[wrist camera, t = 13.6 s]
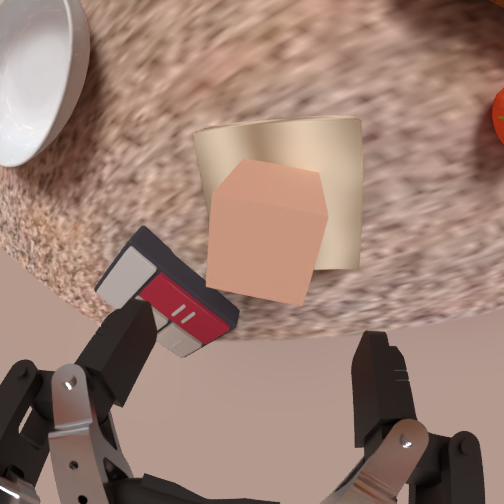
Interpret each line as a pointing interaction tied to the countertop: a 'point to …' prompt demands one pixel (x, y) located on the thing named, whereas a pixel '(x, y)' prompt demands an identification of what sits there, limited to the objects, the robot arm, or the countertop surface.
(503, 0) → the clay tablet
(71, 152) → the countertop surface
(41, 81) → the serving bowl
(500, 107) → the clementine
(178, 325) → the grey and red box
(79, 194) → the countertop surface
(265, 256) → the terracotta block
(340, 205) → the birch block
